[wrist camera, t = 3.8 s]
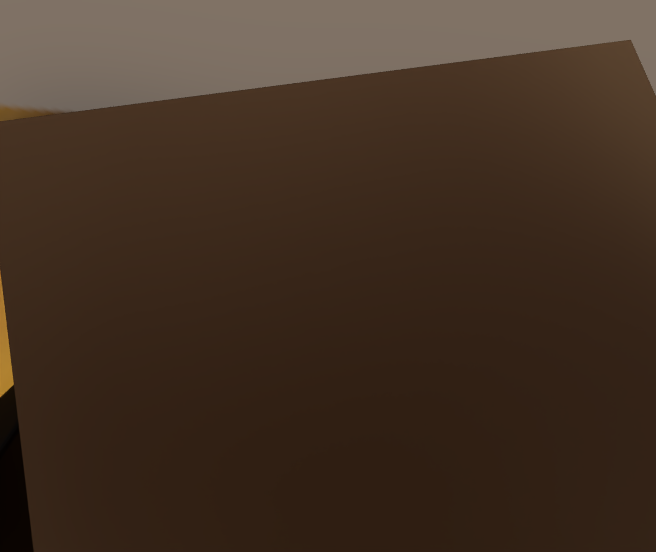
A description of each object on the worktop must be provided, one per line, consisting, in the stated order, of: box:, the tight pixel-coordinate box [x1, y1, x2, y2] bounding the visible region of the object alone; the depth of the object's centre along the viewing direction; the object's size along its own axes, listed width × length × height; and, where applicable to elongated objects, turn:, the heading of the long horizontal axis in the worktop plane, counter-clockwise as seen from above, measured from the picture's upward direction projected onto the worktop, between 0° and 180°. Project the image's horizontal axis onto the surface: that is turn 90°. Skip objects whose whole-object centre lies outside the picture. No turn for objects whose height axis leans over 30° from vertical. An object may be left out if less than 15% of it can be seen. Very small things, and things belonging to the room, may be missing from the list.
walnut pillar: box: [0, 40, 656, 552], centre depth 9 cm, size 5×5×13 cm
